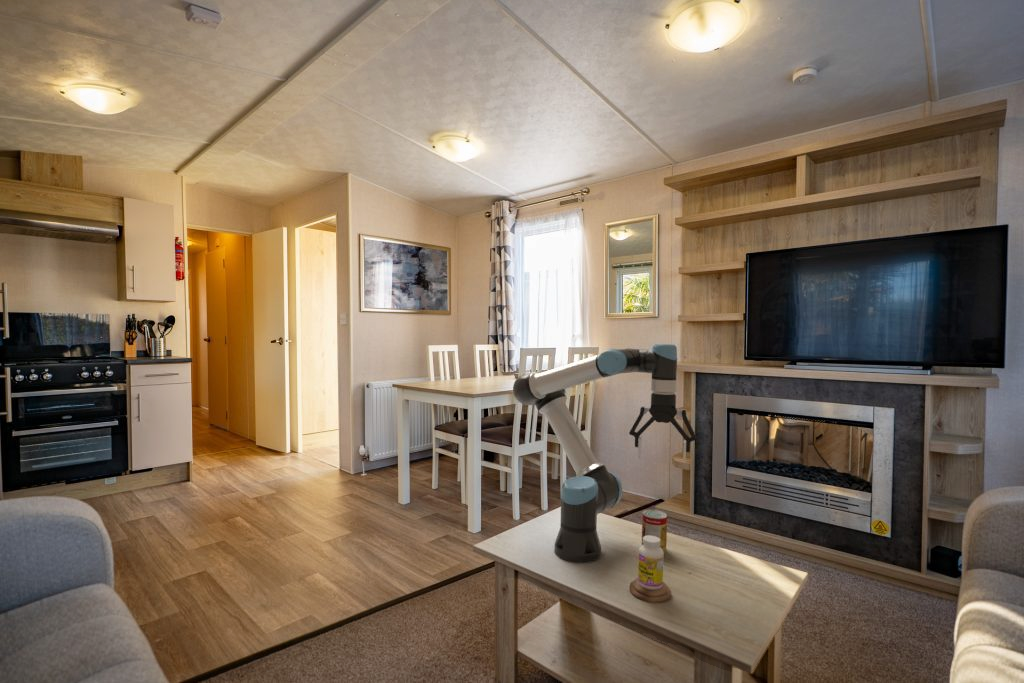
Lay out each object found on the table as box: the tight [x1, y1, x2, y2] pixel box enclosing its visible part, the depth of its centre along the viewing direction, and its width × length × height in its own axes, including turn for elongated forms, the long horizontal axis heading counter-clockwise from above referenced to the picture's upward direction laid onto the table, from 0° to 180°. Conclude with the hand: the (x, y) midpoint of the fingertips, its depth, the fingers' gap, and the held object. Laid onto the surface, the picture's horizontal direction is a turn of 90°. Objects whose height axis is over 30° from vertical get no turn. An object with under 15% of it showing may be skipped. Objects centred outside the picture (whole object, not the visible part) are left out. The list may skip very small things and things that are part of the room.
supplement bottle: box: [637, 535, 665, 590], centre depth 138 cm, size 7×7×13 cm
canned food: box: [641, 509, 668, 554], centre depth 166 cm, size 8×8×12 cm
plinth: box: [629, 577, 672, 604], centre depth 138 cm, size 11×11×2 cm
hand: (661, 460), depth 158 cm, fingers open, 13 cm apart
